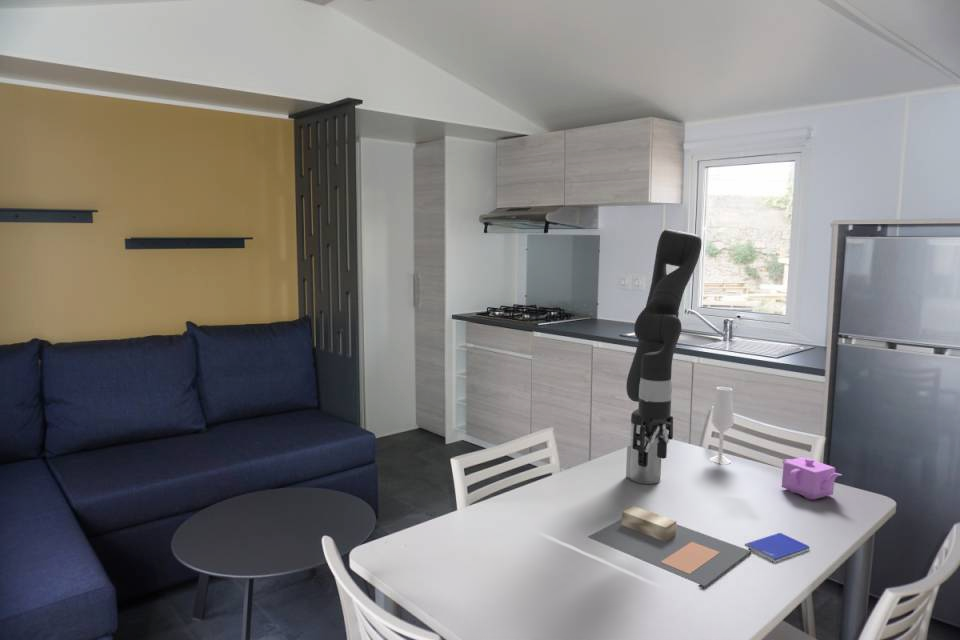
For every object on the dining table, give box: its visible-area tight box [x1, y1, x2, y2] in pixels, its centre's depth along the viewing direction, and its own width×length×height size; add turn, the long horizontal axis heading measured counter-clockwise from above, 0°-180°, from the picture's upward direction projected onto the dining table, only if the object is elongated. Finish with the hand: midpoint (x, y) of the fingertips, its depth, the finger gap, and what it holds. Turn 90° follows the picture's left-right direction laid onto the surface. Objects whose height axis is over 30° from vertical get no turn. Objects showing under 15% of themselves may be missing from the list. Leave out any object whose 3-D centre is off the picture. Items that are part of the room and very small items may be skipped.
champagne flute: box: [709, 386, 734, 465], centre depth 209 cm, size 7×7×24 cm
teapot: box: [781, 456, 843, 501], centre depth 183 cm, size 18×14×10 cm
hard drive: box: [744, 532, 811, 563], centre depth 152 cm, size 2×8×12 cm
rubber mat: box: [587, 518, 752, 589], centre depth 153 cm, size 30×22×1 cm
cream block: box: [621, 505, 677, 541], centre depth 160 cm, size 12×5×4 cm, turn 44°
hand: (652, 461), depth 157 cm, fingers open, 8 cm apart
